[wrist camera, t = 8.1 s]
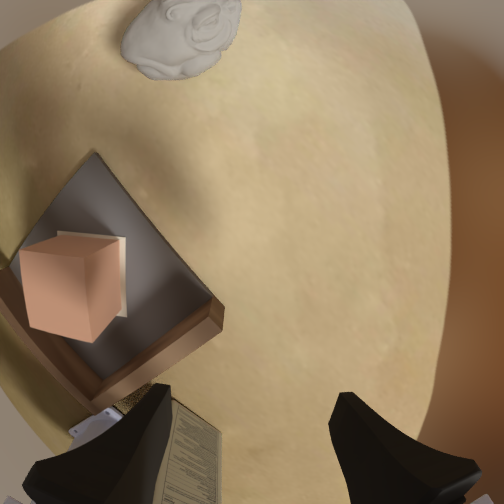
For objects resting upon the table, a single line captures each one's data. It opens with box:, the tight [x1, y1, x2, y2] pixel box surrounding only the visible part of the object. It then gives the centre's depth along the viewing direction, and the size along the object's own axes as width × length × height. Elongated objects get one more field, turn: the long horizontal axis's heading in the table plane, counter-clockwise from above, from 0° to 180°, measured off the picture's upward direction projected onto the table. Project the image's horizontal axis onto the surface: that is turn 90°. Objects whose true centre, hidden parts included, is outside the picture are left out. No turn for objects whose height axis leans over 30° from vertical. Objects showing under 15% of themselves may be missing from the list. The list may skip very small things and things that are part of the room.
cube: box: [19, 235, 122, 343], centre depth 16 cm, size 5×5×5 cm
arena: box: [0, 152, 225, 416], centre depth 17 cm, size 14×14×4 cm
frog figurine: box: [121, 0, 242, 80], centre depth 12 cm, size 6×7×7 cm
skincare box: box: [153, 400, 222, 504], centre depth 16 cm, size 6×4×12 cm
